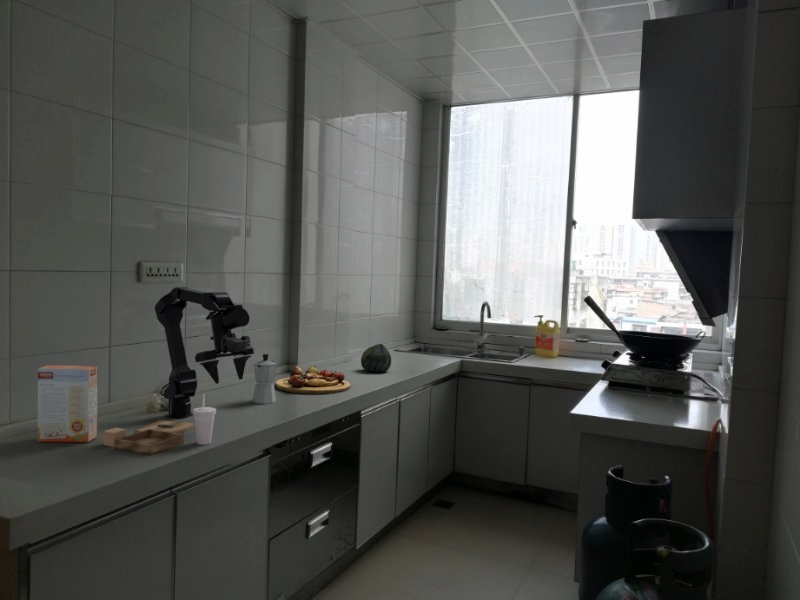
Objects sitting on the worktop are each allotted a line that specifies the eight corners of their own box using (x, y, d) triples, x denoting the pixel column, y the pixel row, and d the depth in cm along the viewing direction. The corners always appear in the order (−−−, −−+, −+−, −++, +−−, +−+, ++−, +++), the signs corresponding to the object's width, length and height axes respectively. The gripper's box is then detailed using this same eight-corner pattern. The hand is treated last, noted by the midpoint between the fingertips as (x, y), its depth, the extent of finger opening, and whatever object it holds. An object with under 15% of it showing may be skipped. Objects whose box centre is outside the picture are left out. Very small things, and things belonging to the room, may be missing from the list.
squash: (357, 357, 310) (363, 338, 300) (385, 358, 314) (392, 339, 305) (361, 380, 300) (367, 360, 290) (390, 380, 305) (397, 361, 295)
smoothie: (207, 438, 178) (208, 391, 177) (220, 443, 174) (221, 394, 173) (187, 442, 173) (188, 394, 172) (200, 447, 169) (201, 397, 168)
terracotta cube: (116, 427, 172) (116, 441, 172) (103, 430, 168) (103, 444, 169) (126, 429, 170) (126, 443, 170) (113, 433, 166) (113, 447, 167)
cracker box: (97, 437, 175) (98, 365, 174) (87, 443, 169) (88, 369, 168) (48, 436, 175) (48, 364, 173) (36, 442, 169) (36, 367, 167)
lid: (135, 432, 181) (135, 428, 181) (159, 422, 193) (159, 418, 193) (173, 436, 178) (173, 431, 178) (195, 426, 191) (195, 421, 191)
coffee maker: (268, 406, 221) (269, 357, 220) (245, 404, 223) (247, 355, 222) (284, 397, 236) (285, 351, 235) (263, 396, 237) (264, 350, 236)
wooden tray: (115, 448, 165) (115, 439, 165) (149, 437, 177) (149, 428, 177) (151, 455, 161) (151, 445, 161) (183, 443, 172) (183, 434, 172)
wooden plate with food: (312, 399, 237) (313, 378, 237) (258, 386, 256) (259, 366, 256) (365, 389, 262) (366, 370, 262) (313, 378, 282) (314, 361, 281)
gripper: (214, 329, 177) (222, 382, 176) (262, 325, 193) (269, 374, 191) (190, 335, 183) (198, 386, 182) (238, 331, 199) (245, 378, 198)
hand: (229, 381), depth 188 cm, fingers open, 9 cm apart
